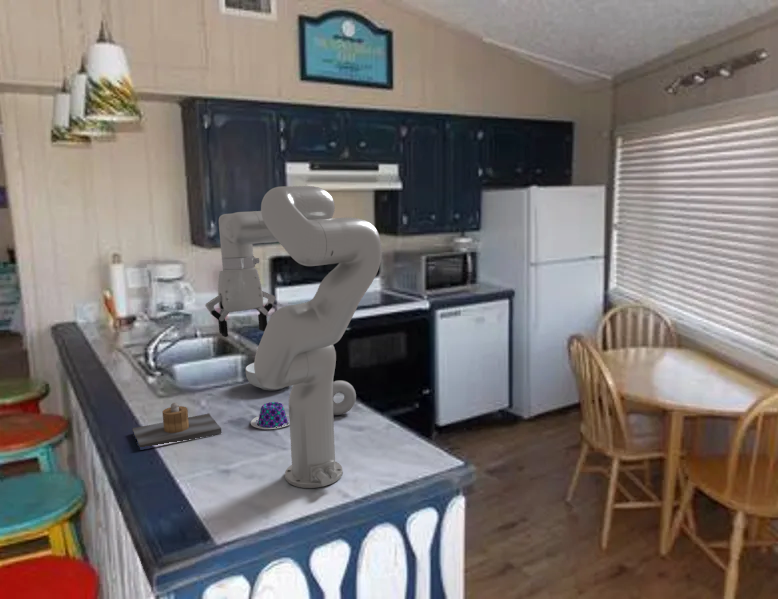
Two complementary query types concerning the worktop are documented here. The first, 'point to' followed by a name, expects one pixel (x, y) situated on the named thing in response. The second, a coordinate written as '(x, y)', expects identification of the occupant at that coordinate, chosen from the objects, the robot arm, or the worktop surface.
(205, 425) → the needle stand
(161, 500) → the worktop surface
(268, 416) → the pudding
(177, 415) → the bead
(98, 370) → the worktop surface
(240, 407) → the worktop surface
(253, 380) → the cereal bowl
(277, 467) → the worktop surface
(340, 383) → the donut
